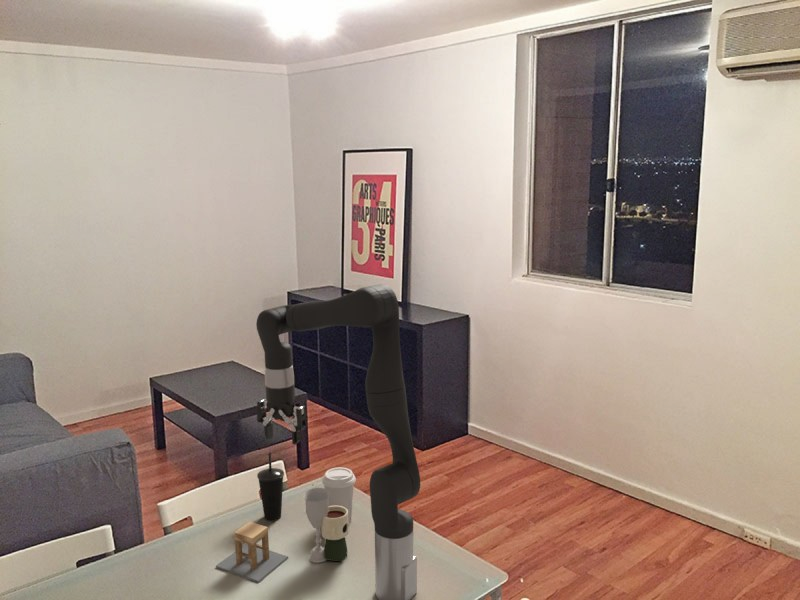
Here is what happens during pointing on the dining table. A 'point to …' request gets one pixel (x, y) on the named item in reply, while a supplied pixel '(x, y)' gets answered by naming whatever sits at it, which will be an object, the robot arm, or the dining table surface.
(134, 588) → the dining table surface
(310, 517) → the chalice
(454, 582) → the dining table surface
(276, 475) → the drinking cup
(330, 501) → the coffee cup
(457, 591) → the dining table surface
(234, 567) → the mat
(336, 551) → the character mug
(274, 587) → the dining table surface
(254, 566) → the light wood stool
